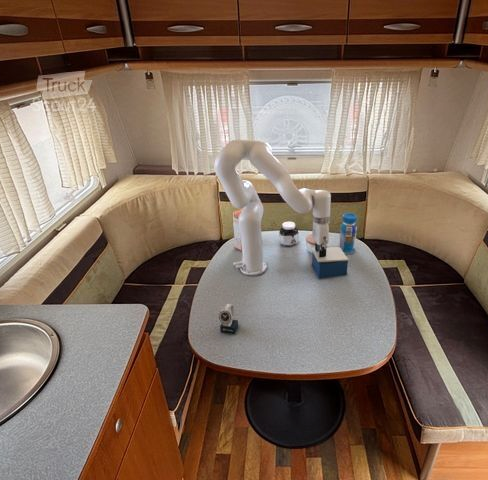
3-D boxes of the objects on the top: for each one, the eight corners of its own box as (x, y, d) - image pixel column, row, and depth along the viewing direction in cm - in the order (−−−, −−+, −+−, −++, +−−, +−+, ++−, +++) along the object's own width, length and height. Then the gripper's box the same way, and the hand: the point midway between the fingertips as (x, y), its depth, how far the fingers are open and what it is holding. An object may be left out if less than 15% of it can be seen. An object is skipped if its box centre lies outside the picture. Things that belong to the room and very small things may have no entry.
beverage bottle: (335, 250, 187) (337, 215, 177) (345, 244, 192) (348, 210, 182) (347, 256, 181) (351, 221, 171) (358, 250, 186) (362, 215, 176)
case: (319, 278, 164) (319, 264, 161) (311, 265, 174) (312, 251, 170) (346, 274, 167) (348, 260, 163) (338, 261, 177) (339, 248, 173)
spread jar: (282, 248, 188) (281, 229, 182) (275, 238, 198) (275, 219, 192) (303, 244, 192) (303, 225, 186) (296, 235, 201) (296, 216, 195)
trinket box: (326, 256, 181) (327, 240, 176) (305, 256, 181) (306, 240, 177) (325, 246, 190) (326, 230, 186) (305, 245, 190) (305, 230, 186)
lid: (318, 262, 160) (319, 253, 158) (310, 249, 170) (312, 240, 167) (348, 260, 163) (349, 252, 161) (339, 248, 173) (340, 239, 171)
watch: (219, 335, 133) (215, 313, 128) (226, 321, 140) (223, 299, 135) (233, 338, 132) (230, 315, 127) (240, 323, 139) (238, 301, 134)
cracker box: (242, 251, 186) (239, 215, 175) (234, 247, 189) (231, 212, 179) (261, 241, 194) (260, 206, 184) (254, 238, 198) (252, 203, 188)
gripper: (307, 211, 162) (307, 245, 171) (319, 228, 148) (318, 264, 157) (323, 209, 164) (322, 243, 173) (336, 225, 149) (334, 262, 158)
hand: (320, 253), depth 165 cm, fingers closed on lid, 5 cm apart
